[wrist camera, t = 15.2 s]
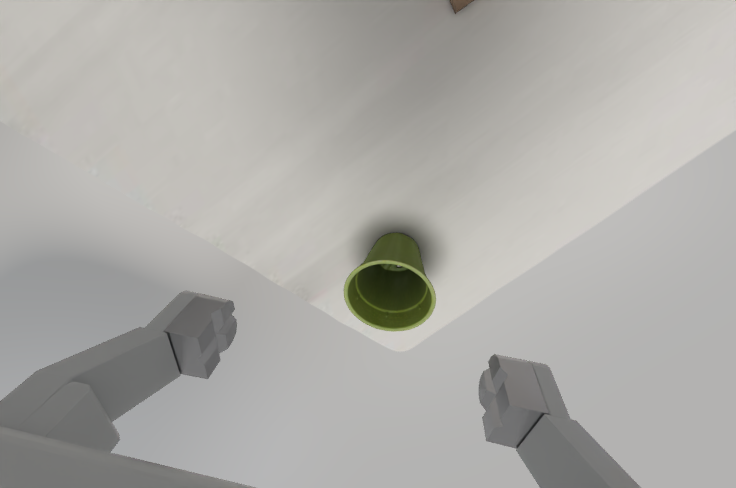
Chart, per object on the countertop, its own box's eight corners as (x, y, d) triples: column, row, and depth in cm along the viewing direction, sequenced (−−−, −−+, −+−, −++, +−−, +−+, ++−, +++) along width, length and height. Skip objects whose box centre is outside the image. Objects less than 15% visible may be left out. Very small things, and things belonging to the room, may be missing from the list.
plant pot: (397, 202, 45) (390, 243, 36) (449, 255, 49) (455, 305, 39) (343, 247, 51) (325, 292, 41) (393, 292, 54) (387, 343, 45)
